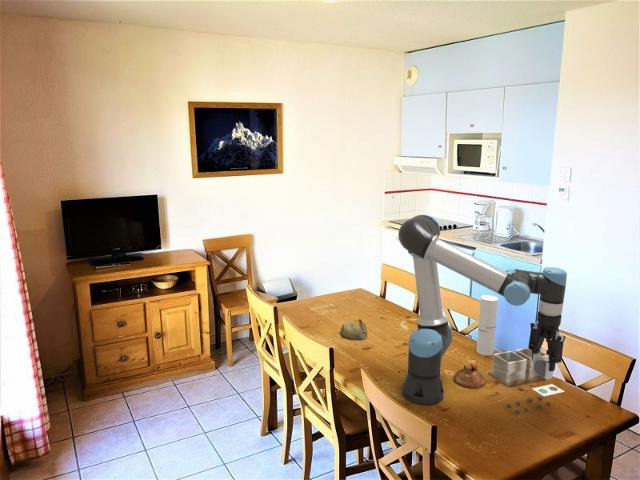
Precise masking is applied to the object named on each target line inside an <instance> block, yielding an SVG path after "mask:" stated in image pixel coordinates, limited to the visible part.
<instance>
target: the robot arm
mask: <svg viewBox="0 0 640 480" xmlns="http://www.w3.org/2000/svg"><path fill="white" fill-rule="evenodd" d="M440 234H441V228H440V223H439V222H438V221H437V219H436V218H434V216H431V215H429V214H418V215H415V216H413V217H411V218H410V219H408V220H406V221H404V222H403V223H402V224H401V226H400V228H399V229H398V232H397V236H398V240H399V244H400V245H401V246H402V247H403V248H404V249H405V250H406V251H407V253H408V254H409V255H410V256H411V257H412V261H413V269H414V278H415V286H416V293H417V301H418V307H419V318H418V319H417V320H416V324H417V330H414V331H412V332H411V334H410V336H409V338H408V343H407V344H408V353H407V355H408V356H407V373H406V375H405V378H404V381H403V383H402V386H401V395H402V396H403V397H404V399H406V400H407V401H410V402H411V403H415V404H418V405H426V406H427V405H429V406H430V405H435V404H439V403H440V402H442V401H443V400H444V396H445V393H444V392H445V391H444V387H443V383H442V380H441V367H442V366H441V365H442V358H443V356H444V355H445V353H447V350H448V349H449V348H450V347H451V344H452V340H453V331H452V328H451V326H450V325H449V321H448V320H449V319H448V317H446V316H445V315H444V311H443V304H442V295H441V288H440V279H439V271H438V270H439V269H438V264H439V265H441V266H443V267H445V268H447V269H448V270H450V271H452V272H455V273H456V274H459V275H460V276H463V277H464V278H467V279H468V280H471V281H472V282H475V283H476V284H478V285H480V286H482V287H484V288H487V289H488V290H490V291H492V292H494V293H497V294H498V295H500V296H502V297H503V298H504V299H505V301H506V302H507V303H508V304H509V305H512V306H514V307H515V306H517V307H518V306H521V305H522V306H523V305H524V304H526V302H527V301H528V300H529V299H530V296H531V294H535V295H539V301H538V308H537V309H538V311H537V316H536V322H530V324H529V325H530V332H529V333H530V334H529V340H528V346H527V348H529V349H531V350H532V361H533V363H532V370H531V371H535V369H534V365H535V363H536V362H537V361H539V360H540V358H541V353H538V352H542V350H541V349H542V346H543V343H544V341H546V343H547V353H548V354H547V355H548V356H549V360H548V361H547V363H546V371H545V378H544V379H543V380H550V379H551V380H552V379H553V374H554V371H555V370H556V364H559V363H562V362H563V361H562V360H563V353H564V352H563V350H564V343H565V340H566V336H565V335H562V334H561V333H560V330H559V327H560V325H561V324H562V322H561V321H562V314H563V307H564V300H565V294H566V287H567V277H568V276H567V275H568V273H567V271H566V270H564V269H562V268H560V267H554V266H553V267H551V266H549V267H544V268H543V269H542V272H539V271H531V270H524V269H518V268H507V269H506V270H503V269H500V268H499V267H497V266H494V265H493V264H490V263H488V262H486V261H484V260H482V259H481V258H479V257H476V256H474V255H473V254H470V253H469V252H466V251H464V250H462V249H460V248H458V247H456V246H454V245H452V244H450V243H448V242H446V241H444V240H441V239H440V238H439V237H440Z"/></svg>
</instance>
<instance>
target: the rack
mask: <svg viewBox="0 0 640 480" xmlns="http://www.w3.org/2000/svg"><path fill="white" fill-rule="evenodd" d="M538 353H541V358H540V360H545V361H549V356H548V354H547V353H545V352H542V351H541V352H538ZM532 363H533V361H532V350H531V349H529V348H528V347H524V348H520V349H515V351H514V352H513V351H512V350H508V351H504V352H497V353H493V355H492V367H491V370H490V371H488V376H491V377H492V378H494V379H495V380H497V381H498V382H499V383H501V384H502V385H504V386H505V387H507V388H509V387H513V386H518V385H519V386H520V385H523V384H527V383H528V384H529V383H533V382H537V381H540V380H541V381H542V380H545V379H544V378H545V376H540V375H538V374H537V373H536V372H535V371H531V370H532Z"/></svg>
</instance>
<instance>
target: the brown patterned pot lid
mask: <svg viewBox="0 0 640 480" xmlns="http://www.w3.org/2000/svg"><path fill="white" fill-rule="evenodd" d="M453 381H454V383H455V384H456V385H458V386H459V387H463V388H467V389H480V388H482V387H484V385H485V384H486V379H485V377H484V375H483V374H482V373H480V372H479V371H478V365H477V364H476V363H474V362H465V363H464V364H463V368H462V369H460V370H457V371H456V372H455V373H454V375H453Z"/></svg>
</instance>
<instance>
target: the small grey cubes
mask: <svg viewBox="0 0 640 480" xmlns="http://www.w3.org/2000/svg"><path fill="white" fill-rule="evenodd" d="M537 400H538V401H542V400H543V396H542V395H538V396H537ZM528 402H529V403H534V400H533V398H531V397H529V398H528ZM511 405H512V404H511V403H509V402H508V403H507V402H506V405H505V406H506V407H507V408H511ZM515 405H517V406H520V405H521V402H520V401H519V400H517V401H515ZM551 405H552V402H550V401H547V402H546V406H548V407H551ZM536 407H537V408H538V409H542V407H543V405H542V404H541V403H537V406H536ZM529 409H530V408H529V407H528V406H525V407H524V411H525V412H529ZM514 413H515V414H517V415H518V414H520V409H518V408H515V409H514Z"/></svg>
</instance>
